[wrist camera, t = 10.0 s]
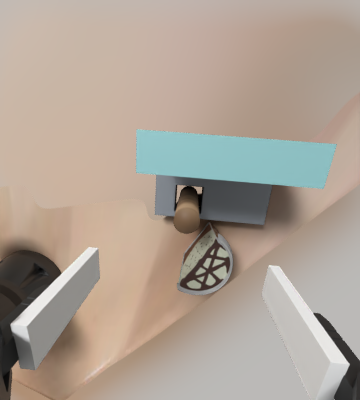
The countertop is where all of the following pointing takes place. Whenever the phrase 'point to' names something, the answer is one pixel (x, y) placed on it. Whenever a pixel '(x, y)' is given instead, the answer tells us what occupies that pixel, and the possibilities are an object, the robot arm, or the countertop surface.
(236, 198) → the socket
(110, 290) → the countertop surface
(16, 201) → the countertop surface
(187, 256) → the food container
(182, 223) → the peg
